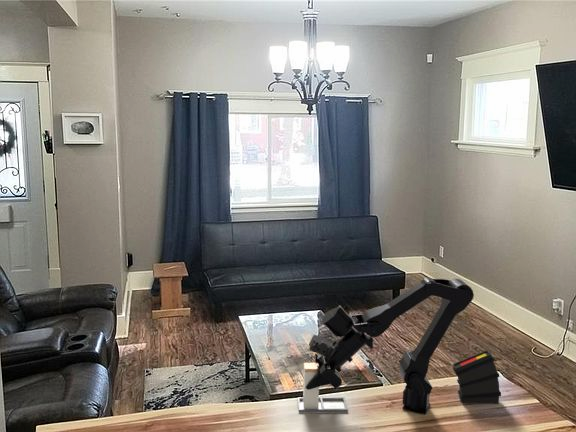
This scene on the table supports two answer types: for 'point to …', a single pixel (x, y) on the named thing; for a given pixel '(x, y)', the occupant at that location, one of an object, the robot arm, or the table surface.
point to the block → (312, 394)
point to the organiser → (325, 405)
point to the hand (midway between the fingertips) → (306, 384)
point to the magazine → (478, 379)
